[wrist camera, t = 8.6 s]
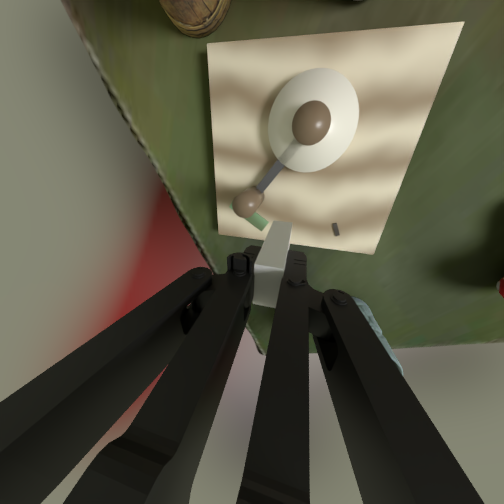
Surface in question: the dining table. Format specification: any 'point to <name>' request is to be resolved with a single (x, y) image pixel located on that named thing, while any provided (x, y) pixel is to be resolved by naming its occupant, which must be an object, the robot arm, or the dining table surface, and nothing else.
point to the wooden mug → (196, 15)
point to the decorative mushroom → (501, 286)
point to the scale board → (358, 152)
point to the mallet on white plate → (306, 129)
